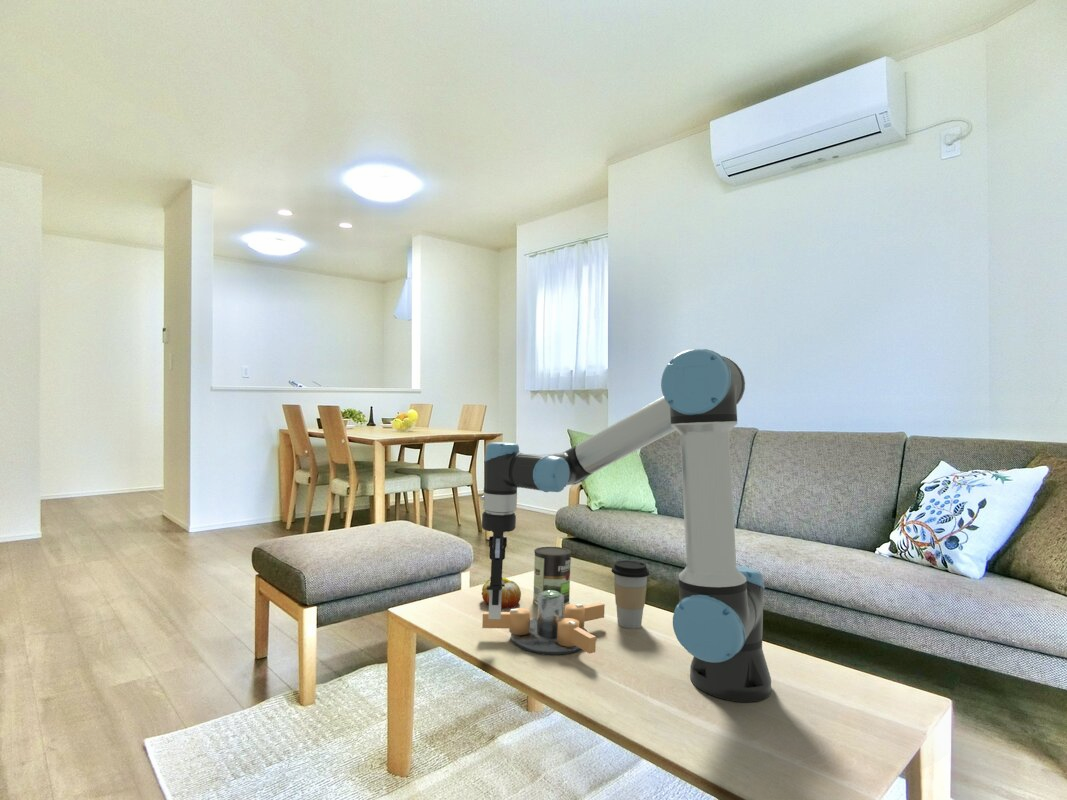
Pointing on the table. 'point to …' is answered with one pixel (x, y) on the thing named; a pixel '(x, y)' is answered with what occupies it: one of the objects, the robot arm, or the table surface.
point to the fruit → (504, 594)
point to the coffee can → (552, 571)
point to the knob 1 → (510, 621)
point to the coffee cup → (630, 591)
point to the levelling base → (541, 643)
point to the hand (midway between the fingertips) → (494, 617)
